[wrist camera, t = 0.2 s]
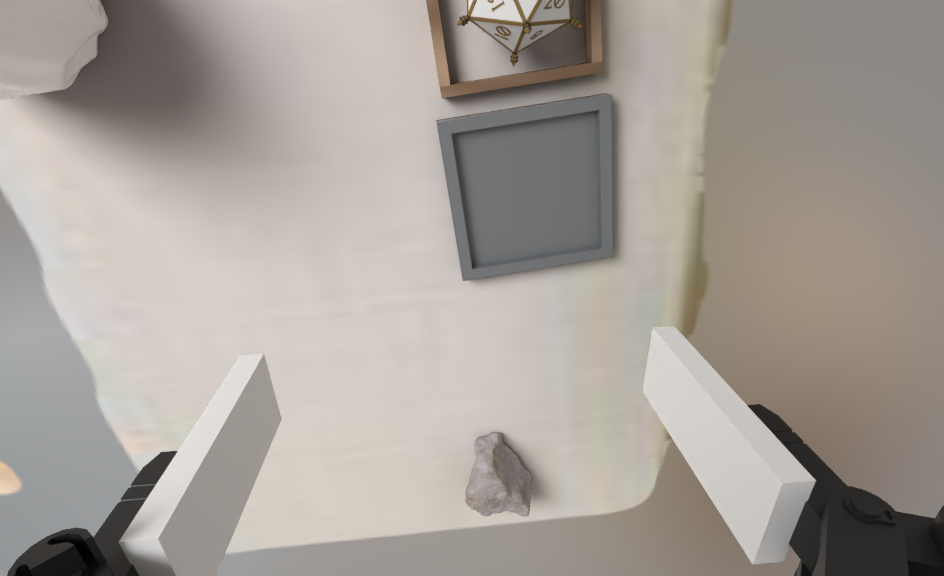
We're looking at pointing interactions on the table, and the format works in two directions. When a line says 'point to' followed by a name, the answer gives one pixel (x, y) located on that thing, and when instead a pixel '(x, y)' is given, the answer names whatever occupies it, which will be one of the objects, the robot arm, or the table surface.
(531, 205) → the tray
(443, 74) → the corral
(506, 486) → the stone
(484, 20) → the game die
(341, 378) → the table surface
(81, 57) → the vase
